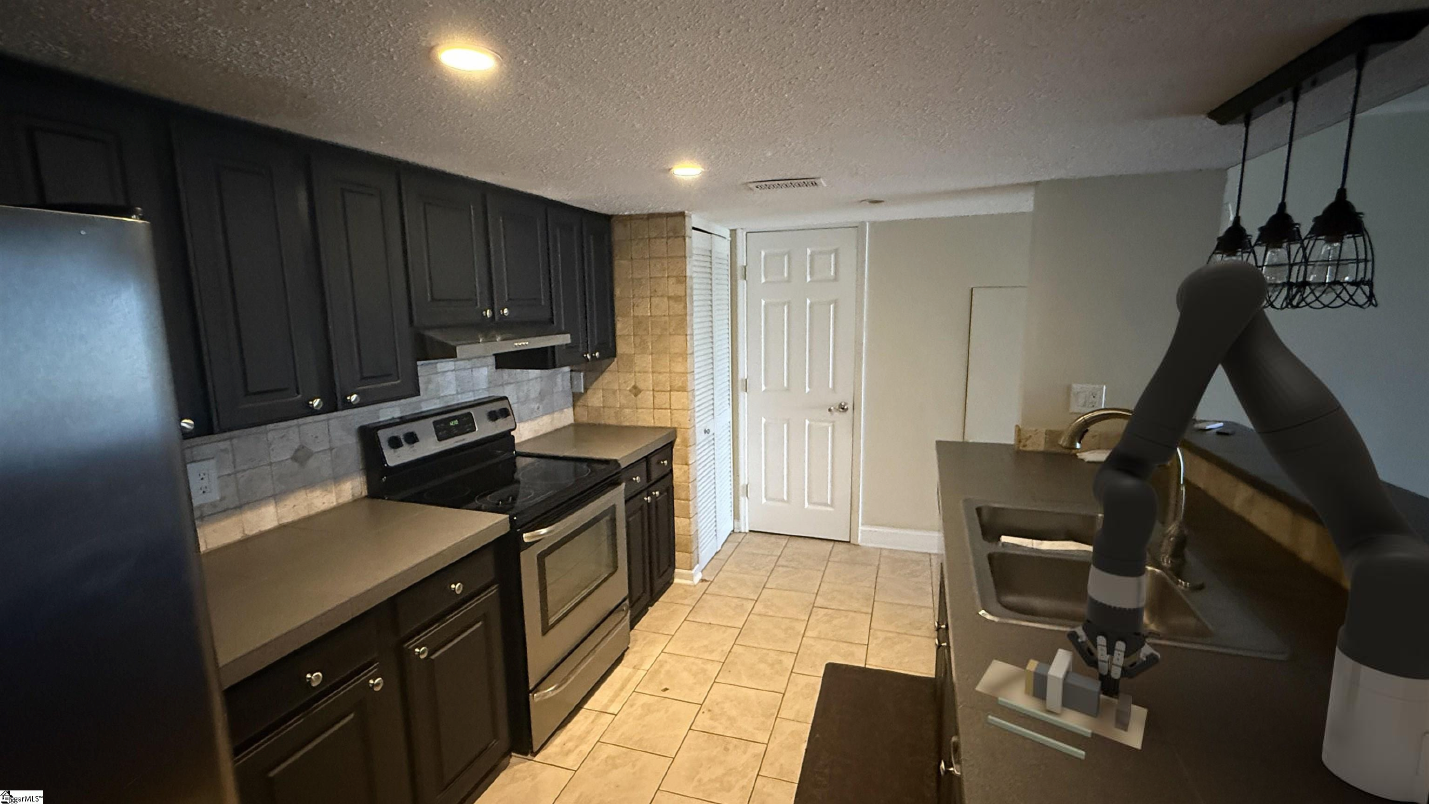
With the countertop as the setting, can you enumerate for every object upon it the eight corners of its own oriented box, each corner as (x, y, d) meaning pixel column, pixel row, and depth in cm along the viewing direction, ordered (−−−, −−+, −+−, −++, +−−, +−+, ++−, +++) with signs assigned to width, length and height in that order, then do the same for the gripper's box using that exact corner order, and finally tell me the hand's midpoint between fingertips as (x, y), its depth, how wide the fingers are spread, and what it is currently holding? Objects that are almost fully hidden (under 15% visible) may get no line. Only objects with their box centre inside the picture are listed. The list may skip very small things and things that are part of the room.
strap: (1070, 686, 101) (1072, 652, 100) (1060, 714, 94) (1062, 678, 93) (1057, 681, 102) (1059, 648, 101) (1045, 709, 96) (1047, 673, 95)
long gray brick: (1099, 706, 96) (1101, 681, 95) (1096, 718, 93) (1097, 692, 93) (1029, 683, 103) (1030, 659, 102) (1024, 693, 100) (1025, 668, 99)
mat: (1090, 738, 90) (1091, 730, 90) (1083, 763, 85) (1084, 754, 85) (998, 704, 98) (999, 697, 98) (987, 725, 94) (987, 717, 93)
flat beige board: (1147, 712, 95) (1148, 690, 95) (1140, 753, 87) (1141, 729, 86) (993, 662, 110) (994, 643, 109) (975, 692, 102) (975, 672, 101)
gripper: (1170, 597, 93) (1160, 698, 96) (1072, 575, 101) (1066, 668, 104) (1166, 617, 87) (1156, 724, 90) (1063, 591, 96) (1057, 690, 98)
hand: (1108, 694), depth 97 cm, fingers closed
